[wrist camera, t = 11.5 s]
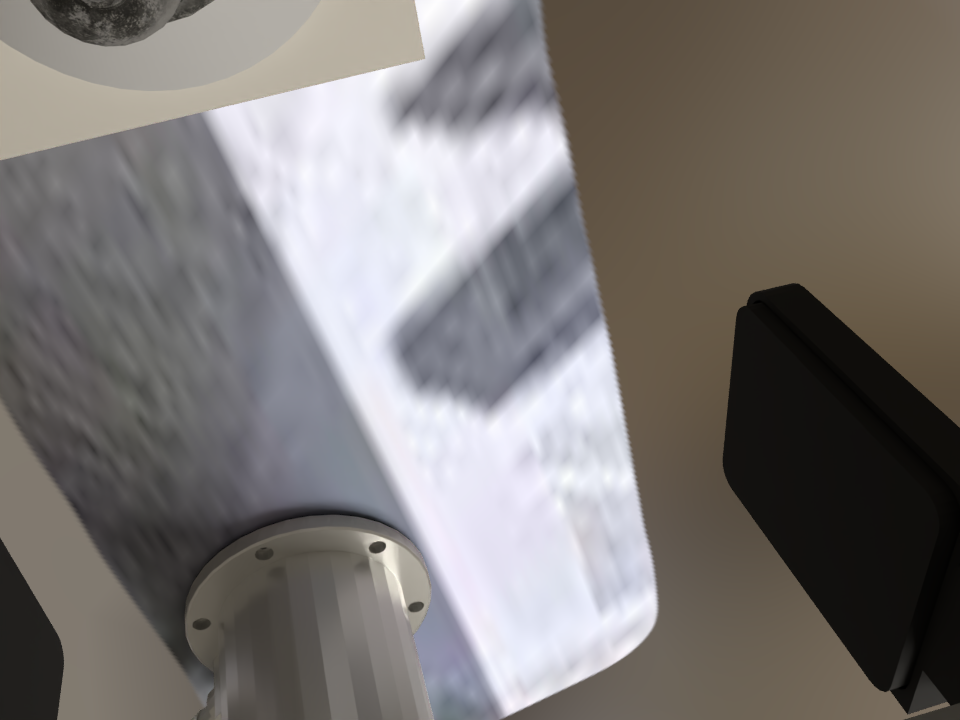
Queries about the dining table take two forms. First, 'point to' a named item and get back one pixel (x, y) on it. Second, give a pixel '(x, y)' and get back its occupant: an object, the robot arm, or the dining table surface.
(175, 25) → the scale
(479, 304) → the dining table surface
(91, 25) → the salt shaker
